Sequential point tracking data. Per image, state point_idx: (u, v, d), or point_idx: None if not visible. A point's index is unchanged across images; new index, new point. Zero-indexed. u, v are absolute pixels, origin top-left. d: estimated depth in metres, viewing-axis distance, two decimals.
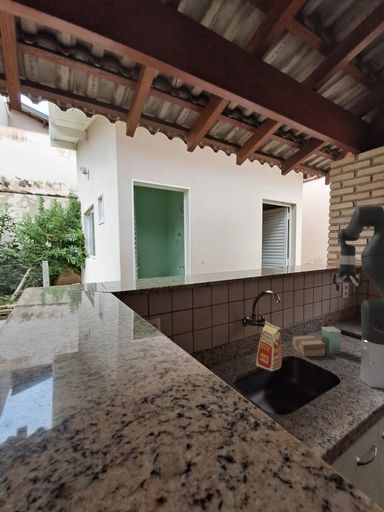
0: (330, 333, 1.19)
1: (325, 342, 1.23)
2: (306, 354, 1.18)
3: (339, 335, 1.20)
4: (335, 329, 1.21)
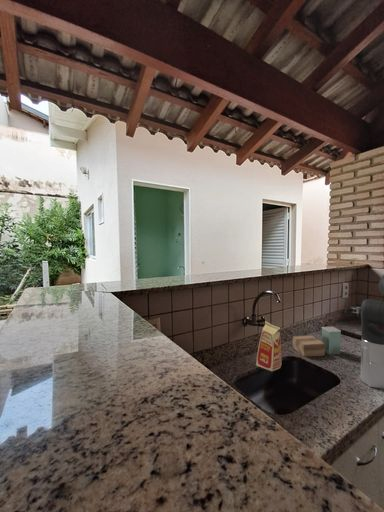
0: (330, 333, 1.19)
1: (325, 342, 1.23)
2: (306, 354, 1.18)
3: (339, 335, 1.20)
4: (335, 329, 1.21)
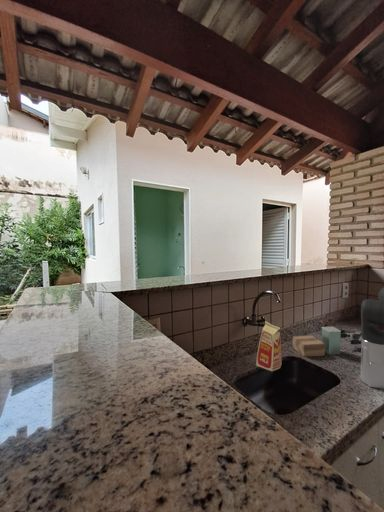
0: (330, 333, 1.19)
1: (325, 342, 1.23)
2: (306, 354, 1.18)
3: (339, 335, 1.20)
4: (335, 329, 1.21)
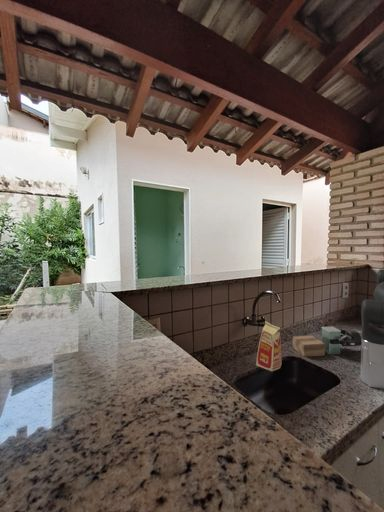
0: (330, 333, 1.19)
1: (325, 342, 1.22)
2: (306, 354, 1.18)
3: (339, 335, 1.20)
4: (335, 329, 1.21)
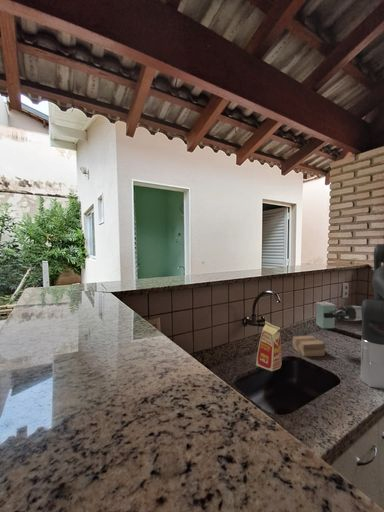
0: (324, 307, 1.19)
1: (319, 316, 1.22)
2: (306, 354, 1.18)
3: (334, 309, 1.19)
4: (329, 303, 1.21)
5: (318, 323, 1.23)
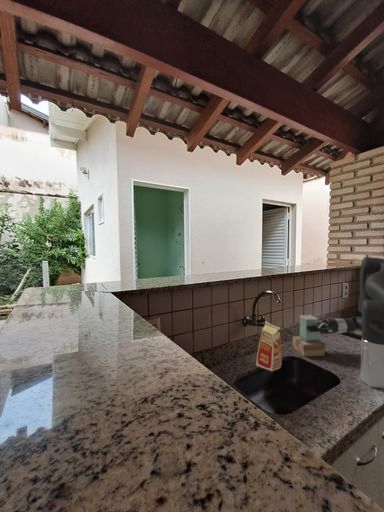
0: (307, 321, 1.20)
1: (303, 330, 1.23)
2: (306, 354, 1.18)
3: (316, 323, 1.20)
4: (312, 317, 1.22)
5: (301, 337, 1.24)
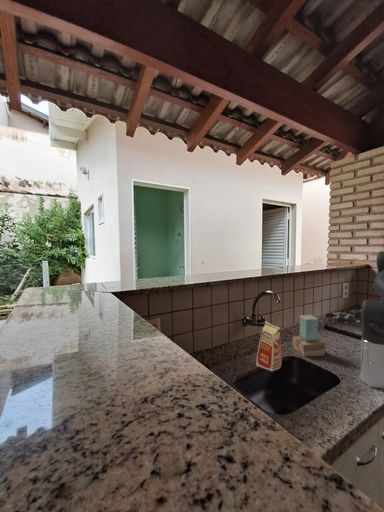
0: (307, 321, 1.20)
1: (303, 330, 1.23)
2: (306, 354, 1.18)
3: (316, 323, 1.20)
4: (312, 317, 1.22)
5: (301, 337, 1.24)
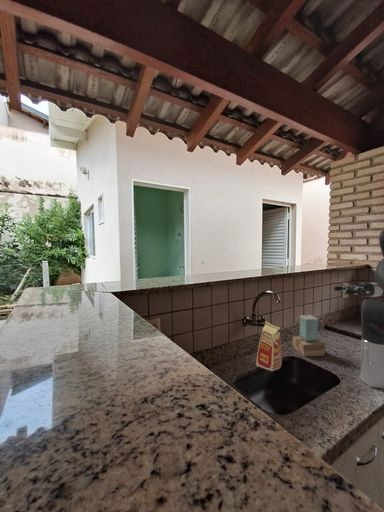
0: (307, 321, 1.20)
1: (303, 330, 1.23)
2: (306, 354, 1.18)
3: (316, 323, 1.20)
4: (312, 317, 1.22)
5: (301, 337, 1.24)
